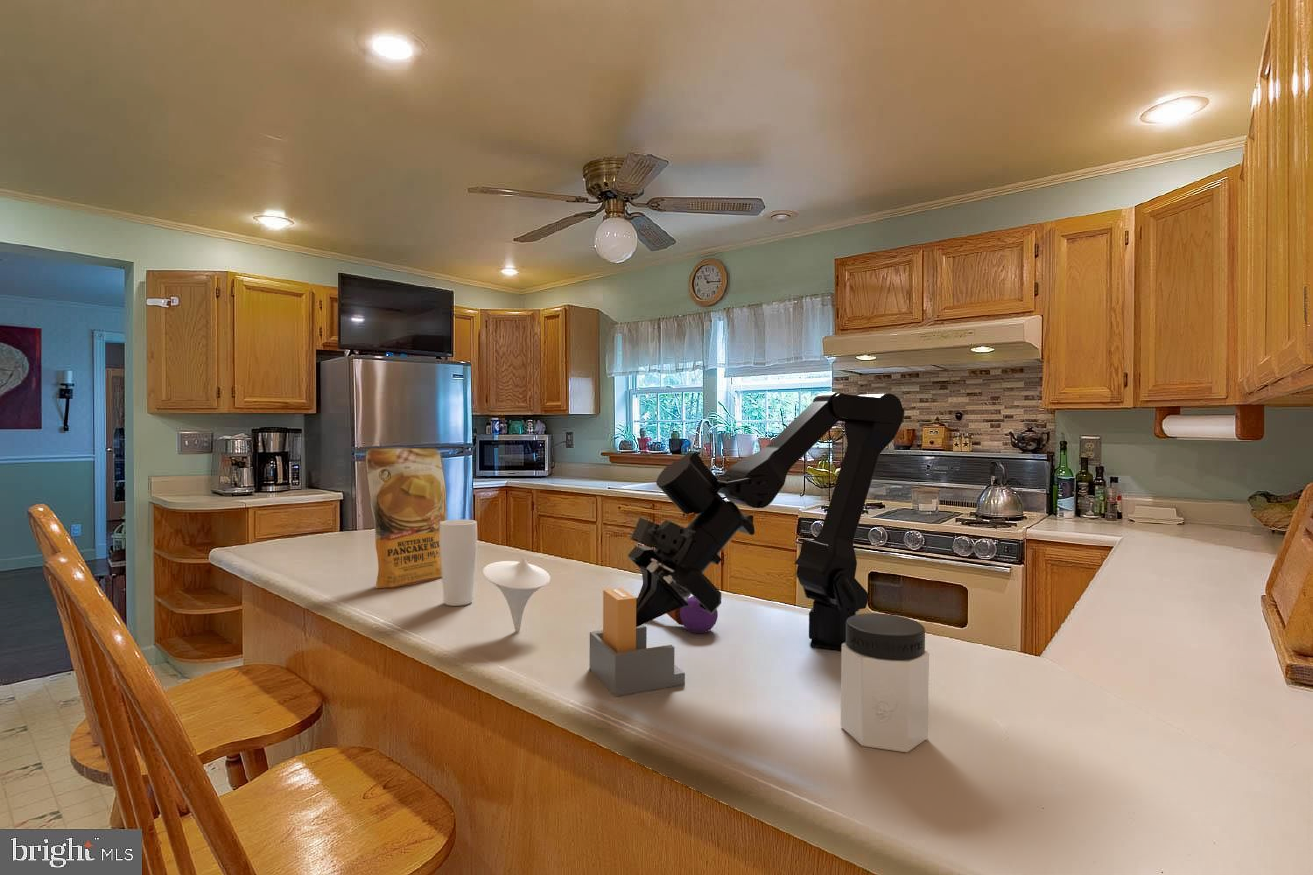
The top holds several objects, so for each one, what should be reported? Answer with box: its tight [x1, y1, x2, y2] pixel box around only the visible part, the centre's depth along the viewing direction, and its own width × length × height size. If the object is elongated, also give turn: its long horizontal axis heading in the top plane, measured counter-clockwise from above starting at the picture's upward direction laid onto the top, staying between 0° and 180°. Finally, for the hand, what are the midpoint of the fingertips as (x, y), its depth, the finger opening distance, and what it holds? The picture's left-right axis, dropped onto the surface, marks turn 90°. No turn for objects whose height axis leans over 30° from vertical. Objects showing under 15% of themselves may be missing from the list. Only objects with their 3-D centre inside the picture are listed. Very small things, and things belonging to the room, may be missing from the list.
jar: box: [840, 612, 930, 754], centre depth 72 cm, size 9×8×12 cm
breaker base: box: [588, 624, 686, 697], centre depth 87 cm, size 10×10×5 cm
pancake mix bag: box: [364, 447, 448, 589], centre depth 138 cm, size 7×19×28 cm, turn 142°
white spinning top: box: [482, 557, 551, 633], centre depth 106 cm, size 10×11×12 cm
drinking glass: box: [439, 518, 478, 607], centre depth 122 cm, size 7×7×15 cm
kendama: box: [636, 595, 719, 634], centre depth 111 cm, size 6×6×20 cm
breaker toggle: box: [602, 587, 637, 653], centre depth 86 cm, size 2×6×10 cm, turn 24°
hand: (630, 625), depth 87 cm, fingers closed, pressing on breaker toggle
